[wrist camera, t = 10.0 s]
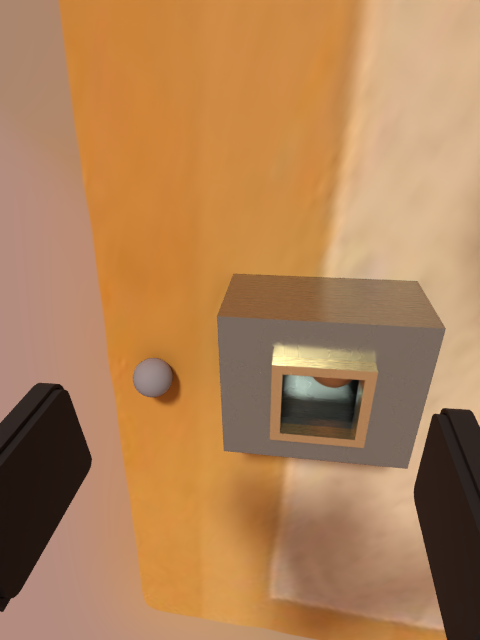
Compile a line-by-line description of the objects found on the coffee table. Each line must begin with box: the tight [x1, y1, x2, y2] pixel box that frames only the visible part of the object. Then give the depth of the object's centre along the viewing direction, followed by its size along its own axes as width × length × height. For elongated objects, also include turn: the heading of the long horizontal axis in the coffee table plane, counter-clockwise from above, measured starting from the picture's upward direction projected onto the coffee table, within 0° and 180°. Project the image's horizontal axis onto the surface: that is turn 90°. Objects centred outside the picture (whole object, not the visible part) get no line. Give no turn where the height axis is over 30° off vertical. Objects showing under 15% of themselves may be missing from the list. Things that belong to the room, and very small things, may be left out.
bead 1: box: [133, 358, 173, 397], centre depth 41 cm, size 4×4×4 cm
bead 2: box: [313, 377, 353, 388], centre depth 36 cm, size 4×4×4 cm
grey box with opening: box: [217, 274, 446, 469], centre depth 35 cm, size 16×14×9 cm
